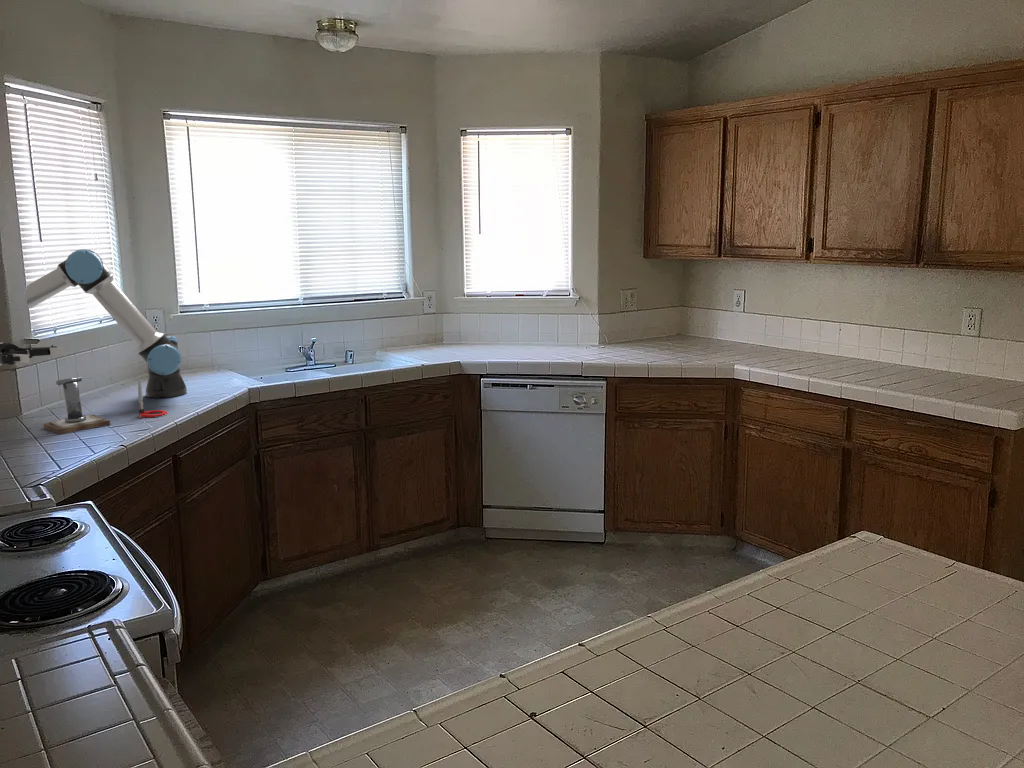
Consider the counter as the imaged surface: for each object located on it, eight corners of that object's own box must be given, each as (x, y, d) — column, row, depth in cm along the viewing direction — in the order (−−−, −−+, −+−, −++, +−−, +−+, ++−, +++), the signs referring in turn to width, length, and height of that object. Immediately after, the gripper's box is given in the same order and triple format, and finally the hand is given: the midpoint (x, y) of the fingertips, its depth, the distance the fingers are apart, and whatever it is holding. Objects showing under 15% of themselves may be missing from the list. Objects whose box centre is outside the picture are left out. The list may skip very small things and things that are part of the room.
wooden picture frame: (93, 418, 289) (93, 413, 288) (109, 424, 279) (109, 419, 279) (44, 427, 277) (43, 421, 277) (59, 434, 268) (58, 428, 268)
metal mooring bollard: (82, 416, 283) (76, 375, 280) (90, 419, 279) (84, 377, 276) (58, 421, 277) (51, 379, 274) (66, 424, 273) (59, 381, 270)
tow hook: (168, 412, 298) (140, 413, 295) (166, 377, 296) (138, 378, 293) (166, 417, 290) (137, 419, 288) (164, 381, 288) (135, 382, 285)
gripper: (38, 358, 298) (80, 360, 289) (-30, 370, 275) (13, 373, 267) (34, 337, 296) (77, 338, 288) (-34, 348, 274) (10, 350, 266)
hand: (46, 355), depth 278 cm, fingers open, 13 cm apart
